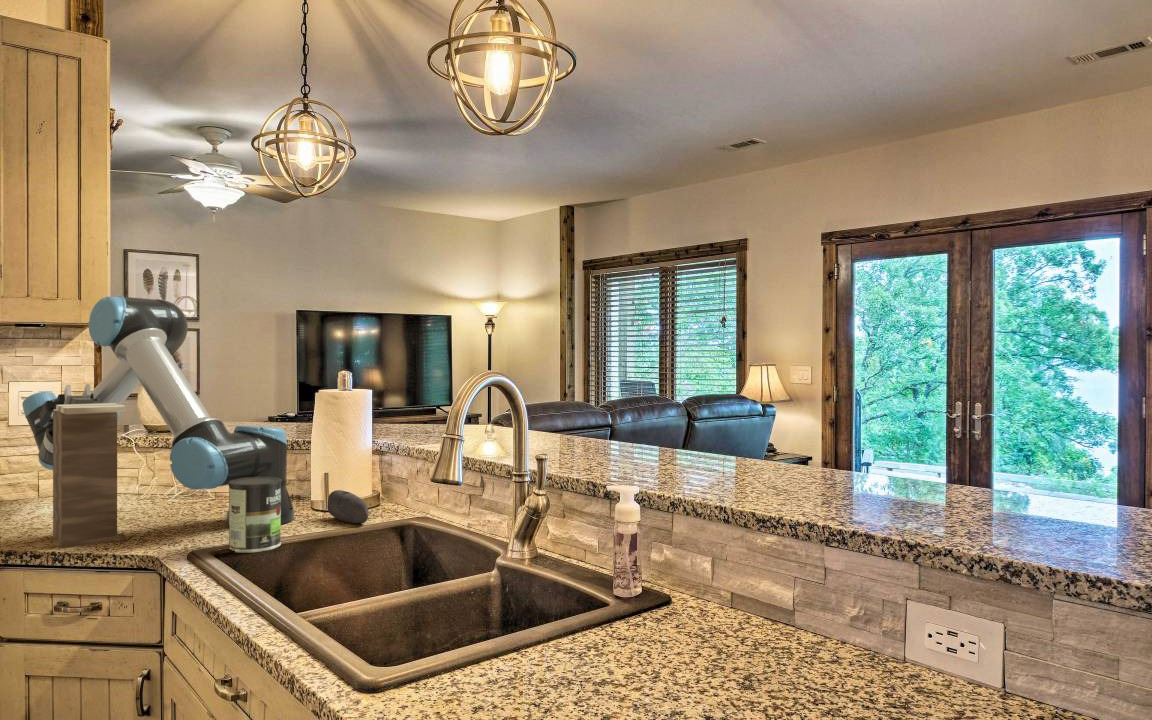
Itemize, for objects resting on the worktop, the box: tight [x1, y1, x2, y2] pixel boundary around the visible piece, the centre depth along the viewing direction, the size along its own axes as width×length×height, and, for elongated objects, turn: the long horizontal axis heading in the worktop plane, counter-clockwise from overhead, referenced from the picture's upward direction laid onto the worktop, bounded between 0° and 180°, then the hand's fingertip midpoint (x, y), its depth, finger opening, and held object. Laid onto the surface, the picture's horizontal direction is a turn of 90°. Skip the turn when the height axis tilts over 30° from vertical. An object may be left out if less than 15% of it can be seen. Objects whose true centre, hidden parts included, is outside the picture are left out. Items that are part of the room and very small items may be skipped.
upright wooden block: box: [52, 410, 118, 549], centre depth 164 cm, size 12×10×28 cm
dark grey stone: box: [326, 489, 370, 524], centre depth 183 cm, size 15×5×7 cm, turn 45°
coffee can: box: [227, 477, 282, 554], centre depth 159 cm, size 10×10×14 cm
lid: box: [56, 395, 127, 414], centre depth 165 cm, size 29×11×2 cm, turn 42°
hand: (78, 389), depth 170 cm, fingers closed on lid, 3 cm apart
